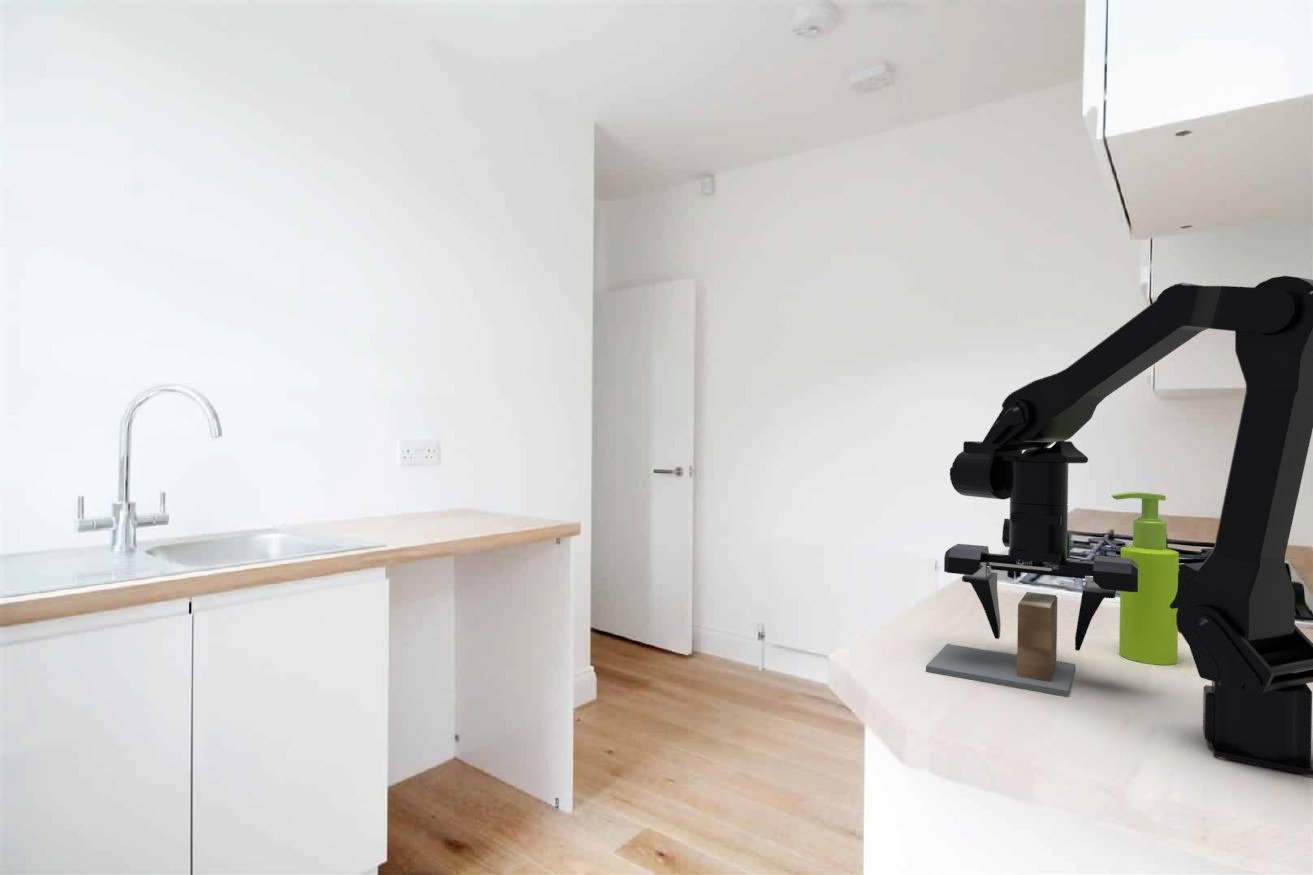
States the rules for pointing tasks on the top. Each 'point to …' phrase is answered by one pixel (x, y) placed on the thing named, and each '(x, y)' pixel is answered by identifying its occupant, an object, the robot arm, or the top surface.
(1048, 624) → the walnut slab
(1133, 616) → the soap dispenser
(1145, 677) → the top surface
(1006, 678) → the mat
